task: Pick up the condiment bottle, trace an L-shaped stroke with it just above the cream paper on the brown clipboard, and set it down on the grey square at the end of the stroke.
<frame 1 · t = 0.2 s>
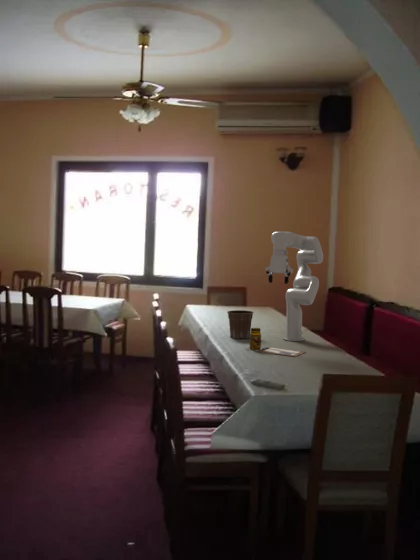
hand: (278, 283, 327), 36 cm above the table, tool pointing down, fingers open, 9 cm apart
clipboard: (281, 352, 311), on the table
condiment: (253, 349, 318), on the table
plant pot: (239, 337, 354), on the table
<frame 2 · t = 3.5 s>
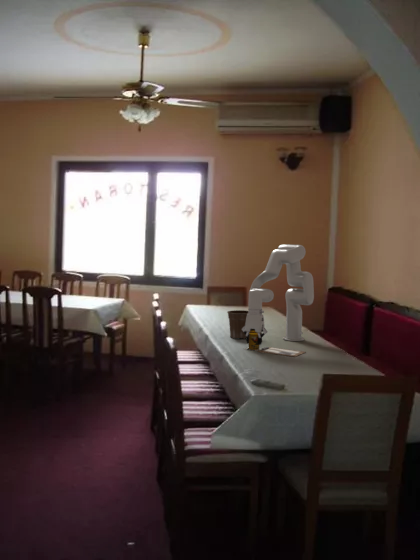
hand: (254, 343, 318), 3 cm above the table, tool pointing down, fingers closed on condiment, 6 cm apart
condiment: (252, 349, 318), on the table, touching gripper
everything else where it was.
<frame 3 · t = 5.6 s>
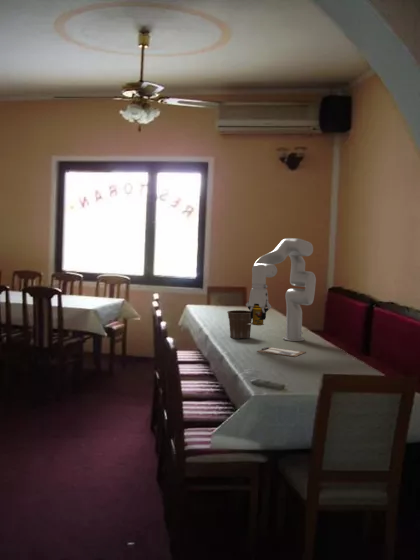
hand: (258, 318, 317), 17 cm above the table, tool pointing down, fingers closed on condiment, 6 cm apart
condiment: (256, 324, 318), point 14 cm above the table, touching gripper
everything else where it was.
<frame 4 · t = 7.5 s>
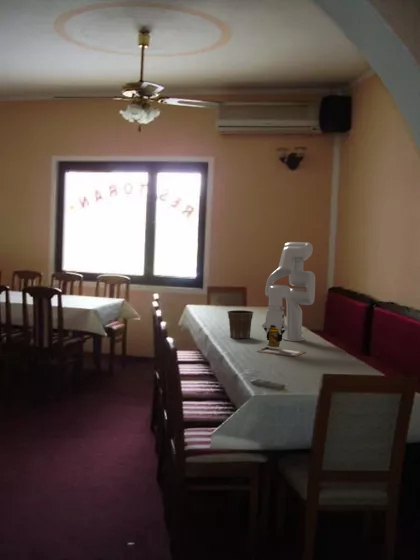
hand: (274, 340, 317), 5 cm above the table, tool pointing down, fingers closed on condiment, 6 cm apart
condiment: (272, 346, 317), point 2 cm above the table, touching gripper
everything else where it was.
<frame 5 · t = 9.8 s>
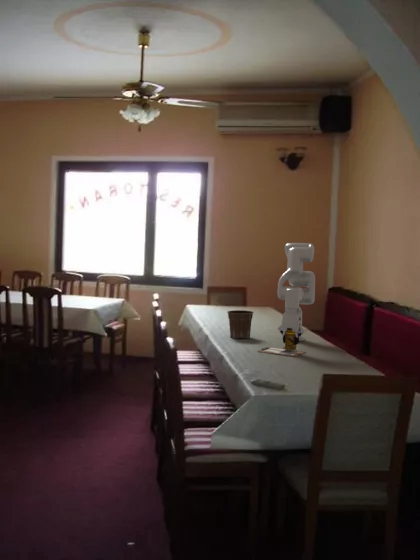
hand: (290, 343, 311), 5 cm above the table, tool pointing down, fingers closed on condiment, 6 cm apart
condiment: (289, 349, 312), point 2 cm above the table, touching gripper
everything else where it was.
when the fingers open (4 cm above the table, at t = 11.6 s): condiment stays where it is, resting on clipboard.
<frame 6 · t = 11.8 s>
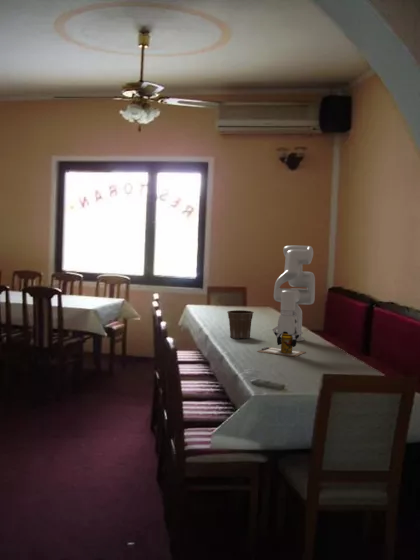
hand: (286, 345, 307), 5 cm above the table, tool pointing down, fingers open, 8 cm apart
condiment: (285, 353, 307), resting on clipboard
everything else where it was.
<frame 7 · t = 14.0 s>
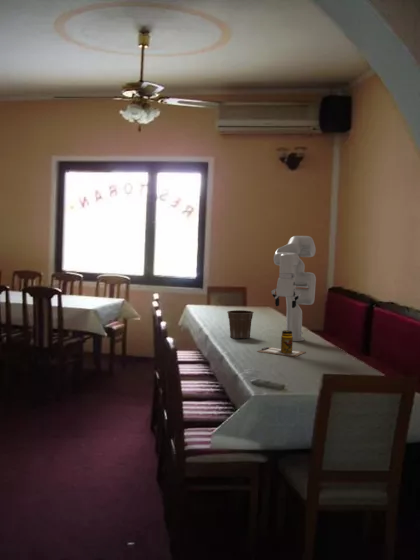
hand: (285, 306, 316), 24 cm above the table, tool pointing down, fingers open, 9 cm apart
nothing on the table moved.
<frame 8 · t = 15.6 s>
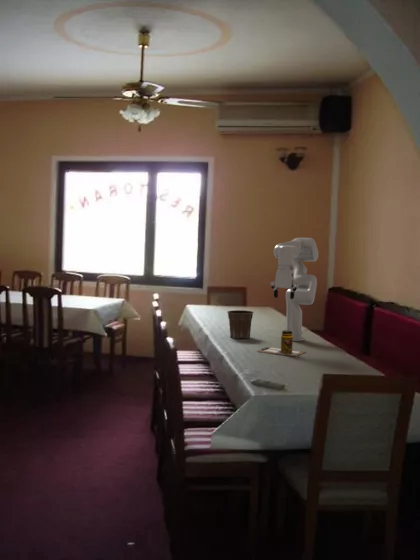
hand: (283, 298, 322), 28 cm above the table, tool pointing down, fingers open, 9 cm apart
nothing on the table moved.
at the end: condiment inside the target area (0.8 cm from its centre), resting on clipboard; condiment tilted 0°; the gripper is holding nothing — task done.
